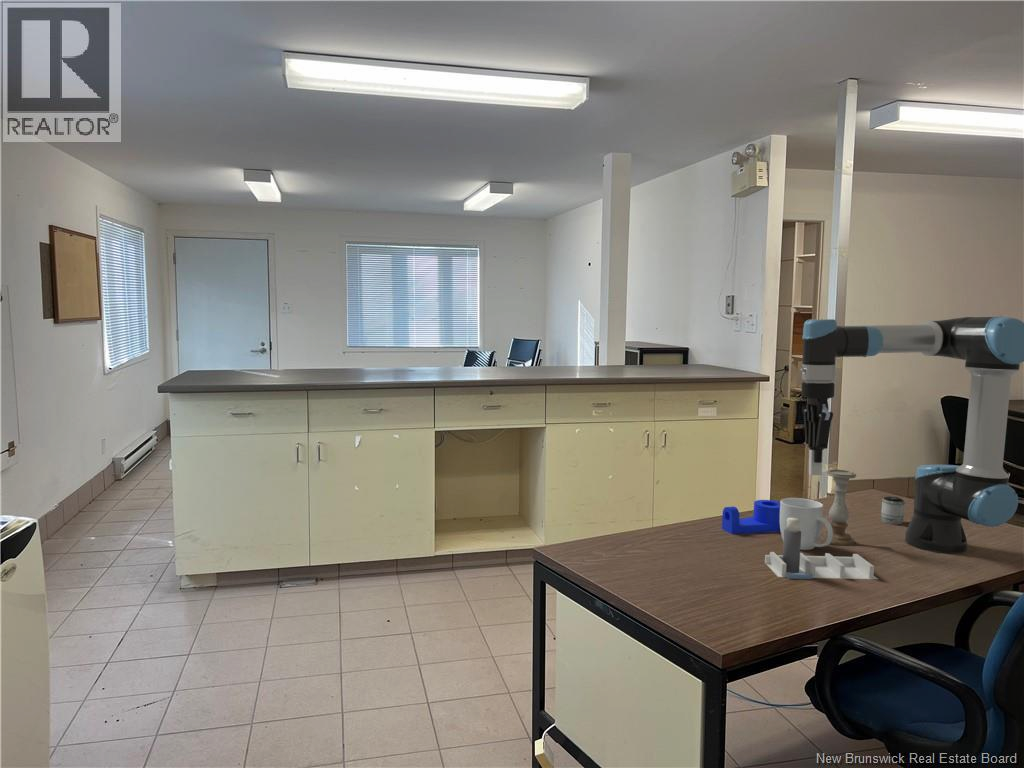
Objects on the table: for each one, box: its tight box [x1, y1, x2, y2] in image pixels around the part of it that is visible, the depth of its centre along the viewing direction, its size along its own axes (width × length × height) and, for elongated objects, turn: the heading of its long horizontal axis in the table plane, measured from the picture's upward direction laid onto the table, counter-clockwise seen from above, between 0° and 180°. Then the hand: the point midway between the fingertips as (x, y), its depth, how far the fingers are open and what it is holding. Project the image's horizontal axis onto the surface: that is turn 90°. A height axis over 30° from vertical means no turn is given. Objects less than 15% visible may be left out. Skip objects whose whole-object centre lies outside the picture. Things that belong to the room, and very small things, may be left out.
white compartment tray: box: [764, 551, 879, 580], centre depth 172 cm, size 24×11×4 cm, turn 88°
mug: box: [779, 497, 833, 551], centre depth 191 cm, size 15×11×13 cm
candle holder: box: [820, 469, 857, 547], centre depth 198 cm, size 9×9×20 cm
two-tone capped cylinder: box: [782, 518, 801, 573], centre depth 173 cm, size 4×4×13 cm
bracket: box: [721, 499, 781, 535], centre depth 211 cm, size 20×9×8 cm, turn 108°
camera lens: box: [880, 496, 906, 526], centre depth 219 cm, size 6×6×8 cm
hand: (815, 474), depth 174 cm, fingers closed
